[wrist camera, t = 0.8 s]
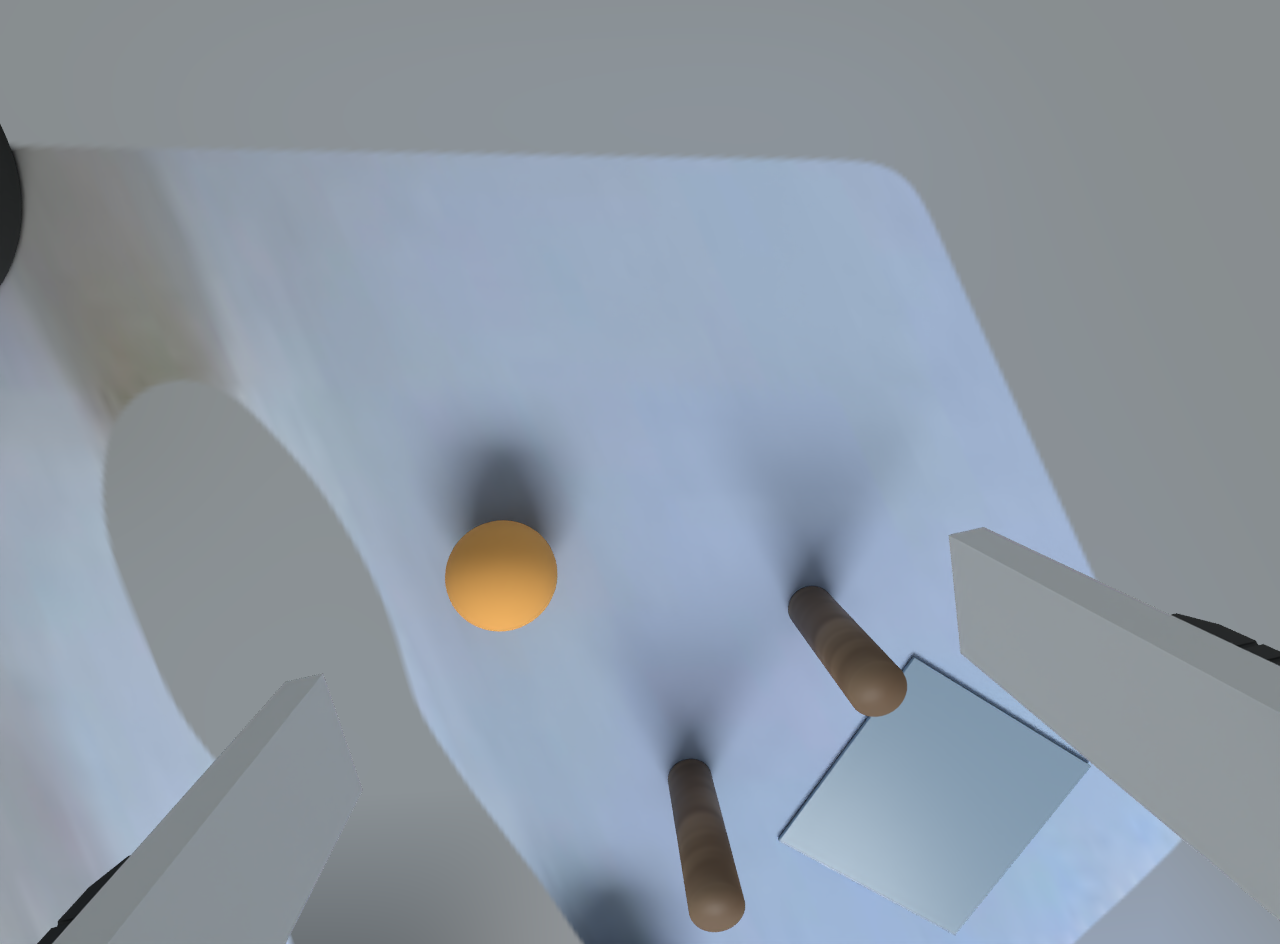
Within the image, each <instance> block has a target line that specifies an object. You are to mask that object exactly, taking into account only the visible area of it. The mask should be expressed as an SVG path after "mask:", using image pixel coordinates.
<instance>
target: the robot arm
mask: <svg viewBox="0 0 1280 944" xmlns="http://www.w3.org/2000/svg"><path fill="white" fill-rule="evenodd" d="M20 227H21V192H20V184H19V178H18V173H17V169H16V165H15V161H14V158H13V154H12V151H11V148H10V146H9V143H8V141H7V138H6V136H5V133H4V131H3V129H2V127H1V125H0V285H1V283H2V282H3V280H4V278H5V276H6V274H7V272H8V270H9V268H10V266H11V263H12V261H13V258H14V255H15V252H16V248H17V244H18V240H19V234H20ZM949 542H950V552H951V562H952V572H953V582H954V592H955V602H956V612H957V622H958V632H959V641H960V651H961V654H962V655H963V656H964V657H966V658H967V659H968V660H969V661H970V662H972V663H973V664H974V665H975V666H976V667H978V668H979V669H980V670H981V671H982V672H984V673H985V674H986V675H987V676H988V677H989V678H991V679H992V680H993V681H994V682H995V683H997V684H998V685H999V686H1000V687H1001V688H1003V689H1004V690H1005V691H1006V692H1007V693H1009V694H1010V695H1011V696H1012V697H1013V698H1015V699H1016V700H1017V701H1018V702H1019V703H1020V704H1022V705H1023V706H1024V707H1025V708H1026V709H1028V710H1029V711H1030V712H1031V713H1032V714H1034V715H1035V716H1036V717H1037V718H1038V719H1040V720H1041V721H1042V722H1043V723H1044V724H1046V725H1047V726H1048V727H1049V728H1050V729H1052V730H1053V731H1054V732H1055V733H1056V734H1057V735H1059V736H1060V737H1061V738H1062V739H1063V740H1065V741H1066V742H1067V743H1068V744H1069V745H1071V746H1072V747H1073V748H1074V749H1075V750H1077V751H1078V752H1079V753H1080V754H1081V755H1083V756H1084V757H1085V758H1086V759H1087V760H1089V761H1090V762H1091V763H1092V764H1093V765H1094V766H1096V767H1097V768H1098V769H1099V770H1100V771H1102V772H1103V773H1104V774H1105V775H1106V776H1108V777H1109V778H1110V779H1111V780H1112V781H1114V782H1115V783H1116V784H1117V785H1118V786H1120V787H1121V788H1122V789H1123V790H1124V791H1126V792H1127V793H1128V794H1129V795H1130V796H1131V797H1133V798H1134V799H1135V800H1136V801H1137V802H1139V803H1140V804H1141V805H1142V806H1143V807H1145V808H1146V809H1147V810H1148V811H1149V812H1151V813H1152V814H1153V815H1154V816H1155V817H1157V818H1158V819H1159V820H1160V821H1161V822H1163V823H1164V824H1165V825H1166V826H1167V827H1168V828H1170V829H1171V830H1172V831H1173V832H1174V833H1176V834H1177V835H1178V836H1179V837H1180V838H1182V839H1183V840H1184V841H1185V842H1186V843H1188V844H1189V845H1190V846H1191V847H1192V848H1194V849H1195V850H1196V851H1197V852H1198V853H1199V854H1201V855H1202V856H1203V857H1204V858H1205V859H1207V860H1208V861H1209V862H1210V863H1211V864H1213V865H1214V866H1215V867H1216V868H1217V869H1219V870H1220V871H1221V872H1222V873H1223V874H1225V875H1226V876H1227V877H1228V878H1229V879H1231V880H1232V881H1233V882H1234V883H1235V884H1237V885H1238V886H1239V887H1240V888H1241V889H1243V890H1244V891H1245V892H1246V893H1247V894H1249V895H1250V896H1251V897H1252V898H1253V899H1254V900H1256V901H1257V902H1258V903H1259V904H1260V905H1262V906H1263V907H1264V908H1265V909H1266V910H1268V911H1269V912H1270V913H1271V914H1273V915H1274V916H1275V917H1276V918H1277V919H1278V920H1279V921H1280V651H1278V650H1275V649H1273V648H1271V647H1269V646H1266V645H1264V644H1262V645H1258V644H1257V642H1256V641H1255V640H1253V639H1250V638H1248V637H1246V636H1244V635H1242V634H1239V633H1237V632H1235V631H1233V630H1231V629H1228V628H1226V627H1224V626H1222V625H1219V624H1216V623H1211V622H1208V621H1204V620H1200V619H1196V618H1192V617H1188V616H1184V615H1180V614H1177V613H1176V614H1172V615H1170V614H1168V613H1166V612H1163V611H1161V610H1159V609H1157V608H1154V607H1153V606H1151V605H1148V604H1146V603H1144V602H1142V601H1140V600H1138V599H1136V598H1133V597H1131V596H1129V595H1127V594H1125V593H1123V592H1121V591H1119V590H1116V589H1114V588H1112V587H1110V586H1108V585H1106V584H1104V583H1101V582H1099V581H1097V580H1095V579H1093V578H1091V577H1089V576H1087V575H1085V574H1083V573H1080V572H1078V571H1076V570H1074V569H1072V568H1070V567H1068V566H1065V565H1063V564H1061V563H1059V562H1057V561H1055V560H1053V559H1051V558H1048V557H1046V556H1044V555H1042V554H1040V553H1038V552H1036V551H1034V550H1031V549H1029V548H1027V547H1025V546H1023V545H1021V544H1019V543H1017V542H1014V541H1012V540H1010V539H1008V538H1006V537H1004V536H1002V535H1000V534H997V533H995V532H993V531H991V530H989V529H987V528H985V527H982V528H978V529H973V530H969V531H964V532H960V533H955V534H951V535H949ZM361 792H362V786H361V783H360V780H359V778H358V775H357V772H356V769H355V766H354V763H353V760H352V757H351V754H350V751H349V748H348V745H347V742H346V739H345V736H344V733H343V730H342V727H341V724H340V721H339V719H338V715H337V713H336V709H335V706H334V704H333V701H332V698H331V695H330V692H329V689H328V686H327V683H326V680H325V677H324V674H323V673H322V674H318V675H314V676H309V677H305V678H300V679H296V680H291V681H286V682H285V683H284V684H283V685H282V686H281V687H280V688H279V689H278V691H277V692H276V693H275V694H274V695H273V696H272V697H271V698H270V700H269V701H268V702H267V703H266V704H265V705H264V706H263V707H262V709H261V710H260V711H259V712H258V713H257V714H256V715H255V716H254V718H253V719H252V720H251V721H250V722H249V723H248V724H247V725H246V726H245V728H244V729H243V730H242V731H241V732H240V733H239V734H238V736H237V737H236V738H235V739H234V740H233V741H232V742H231V743H230V745H229V746H228V747H227V748H226V749H225V750H224V751H223V752H222V753H221V755H220V756H219V757H218V758H217V759H216V760H215V761H214V762H213V764H212V765H211V766H210V767H209V768H208V769H207V770H206V771H205V773H204V774H203V775H202V776H201V777H200V778H199V779H198V780H197V782H196V783H195V784H194V785H193V786H192V787H191V788H190V789H189V790H188V792H187V793H186V794H185V795H184V796H183V797H182V798H181V799H180V801H179V802H178V803H177V804H176V805H175V806H174V807H173V808H172V810H171V811H170V812H169V813H168V814H167V815H166V816H165V817H164V819H163V820H162V821H161V822H160V823H159V824H158V825H157V826H156V828H155V829H154V830H153V831H152V832H151V833H150V834H149V835H148V837H147V838H146V839H145V840H144V841H143V842H142V843H141V844H140V846H139V847H138V848H137V849H136V850H135V851H134V852H133V853H132V855H130V856H128V857H126V858H125V859H124V860H123V861H121V862H120V863H119V864H118V865H116V866H115V867H114V868H113V869H111V870H110V871H109V872H108V873H106V874H105V875H104V876H103V877H101V878H100V879H99V880H98V881H96V882H95V883H94V884H93V885H91V886H90V887H89V888H88V889H87V890H86V891H85V892H84V893H83V894H82V895H81V897H80V898H79V899H78V900H77V901H76V902H75V903H74V904H73V905H72V906H71V907H70V909H69V910H68V911H67V912H66V913H65V914H64V915H63V916H62V917H61V918H60V919H59V921H58V926H57V927H55V928H51V929H50V930H49V931H48V933H47V934H46V935H45V936H44V937H43V938H42V939H41V940H40V941H39V942H38V944H286V942H287V940H288V938H289V936H290V934H291V932H292V930H293V928H294V926H295V924H296V922H297V920H298V918H299V916H300V914H301V912H302V910H303V908H304V906H305V904H306V902H307V900H308V898H309V896H310V894H311V892H312V890H313V888H314V886H315V884H316V882H317V880H318V878H319V876H320V874H321V872H322V870H323V868H324V866H325V864H326V862H327V860H328V858H329V856H330V854H331V852H332V850H333V848H334V846H335V844H336V842H337V840H338V838H339V836H340V834H341V832H342V830H343V828H344V826H345V824H346V822H347V820H348V818H349V816H350V814H351V812H352V810H353V808H354V806H355V804H356V802H357V800H358V798H359V796H360V794H361Z"/></svg>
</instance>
